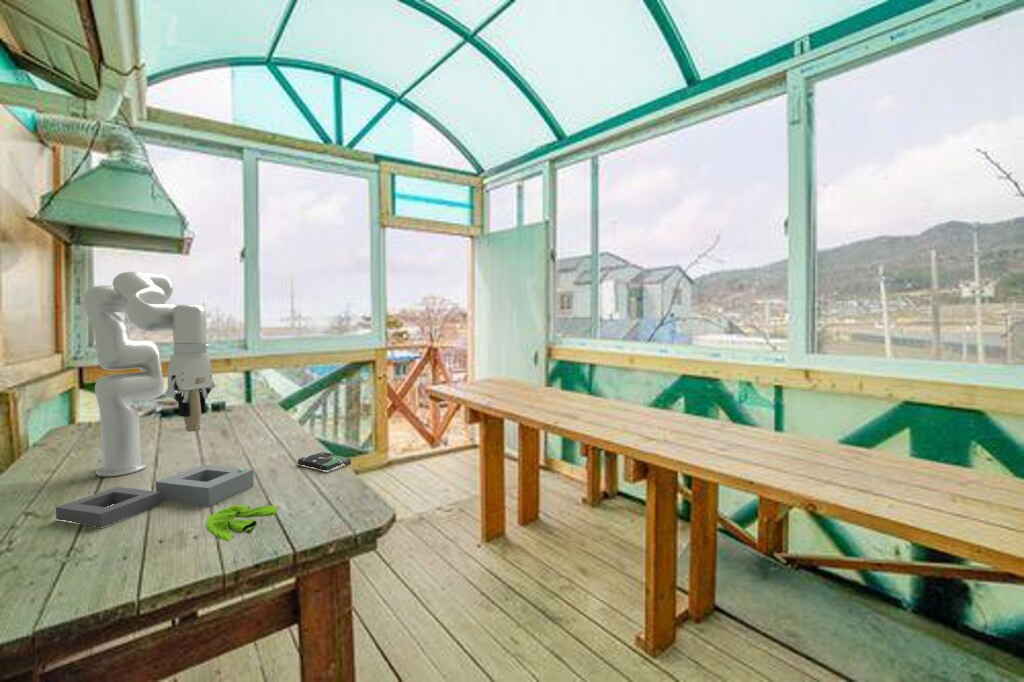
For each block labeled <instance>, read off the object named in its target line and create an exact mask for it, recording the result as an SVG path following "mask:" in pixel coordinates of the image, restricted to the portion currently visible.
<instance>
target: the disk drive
mask: <svg viewBox="0 0 1024 682" xmlns="http://www.w3.org/2000/svg"><path fill="white" fill-rule="evenodd" d="M331 454H332V455H331ZM338 459H339V460H338ZM340 461H342V463H341V462H340ZM343 463H344V464H345V465H347V466H350V465H352V459H351V458H350V457H347V456H343V455H340V454H334V453H330V452H326V451H325V452H324V451H321V452H318V453H314V454H311V455H308V456H307V457H301V458H298V459H297V465H298V464H300V465H305V466H309V467H314V468H317V469H321V470H326V471H327V470H330V469H332V468H334V467H336V466H339V465H340V466H341V464H343ZM347 466H346V467H347Z"/></svg>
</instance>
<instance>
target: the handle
mask: <svg viewBox="0 0 1024 682" xmlns="http://www.w3.org/2000/svg"><path fill="white" fill-rule="evenodd" d="M203 382H205V377H202V378H196V383H195V384H199V383H203ZM187 402H189V403H190V416H188V417H183V419H184V425H185V432H188V433H190V432H192V433H193V432H198V431H200V430H201V425H200V424H201V421H202V413H201V404H200V395H199V389H196V390H191V391H189V394H188V401H187Z"/></svg>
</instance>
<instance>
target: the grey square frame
mask: <svg viewBox="0 0 1024 682" xmlns="http://www.w3.org/2000/svg"><path fill="white" fill-rule="evenodd" d="M112 504H114V505H112ZM110 505H112V506H110ZM107 506H109V507H107ZM159 506H161V500H160V492H156V490H155V491H154V490H145V489H140V488H139V489H138V488H130V487H122V486H121V487H120V486H116V487H113V488H110V489H106V490H103V491H100V492H97V493H95V494H91V495H88V496H85V497H83V498H79V499H77V500H74V501H71V502H67V503H65V504H62V505H58V506H55V520H56V519H59V520H66V521H72V522H76V523H80V524H85V525H89V526H88V527H90V526H96V527H95V528H97V527H104V526H107V525H109V524H112V523H114V522H117V521H119V520H122V519H124V518H127V517H129V518H131V517H130V516H132V517H133V515H134V516H137V515H138V514H141V513H143V512H147V511H149V510H151V509H153V508H156V507H159ZM105 507H106V508H105ZM127 519H128V518H127ZM124 520H125V519H124ZM122 521H123V520H122ZM119 522H120V521H119ZM117 523H118V522H117ZM114 524H115V523H114ZM112 525H113V524H112ZM109 526H110V525H109ZM107 527H108V526H107ZM104 528H105V527H104Z"/></svg>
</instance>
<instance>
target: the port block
mask: <svg viewBox="0 0 1024 682" xmlns="http://www.w3.org/2000/svg"><path fill="white" fill-rule="evenodd" d="M254 485H255V484H254V469H251V468H250V469H249V468H241V467H231V466H222V465H221V466H220V465H214V464H213V465H211V464H203V465H200V466H197V467H194V468H192V469H189V470H188V469H187V470H185V471H182V472H179V473H176V474H174V475H171V476H168V477H165V478H163V479H160V480H157V481H155V492H160V501H165V502H172V503H179V504H180V503H182V504H186V505H187V504H188V505H196V506H202V507H212V506H213V505H215V504H218V503H220V502H222V501H224V500H226V499H229V498H231V497H233V496H235V495H237V494H239V493H242V492H244V491H246V490H249V489H251V488H253V487H254ZM250 487H251V488H250ZM248 488H249V489H248Z"/></svg>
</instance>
